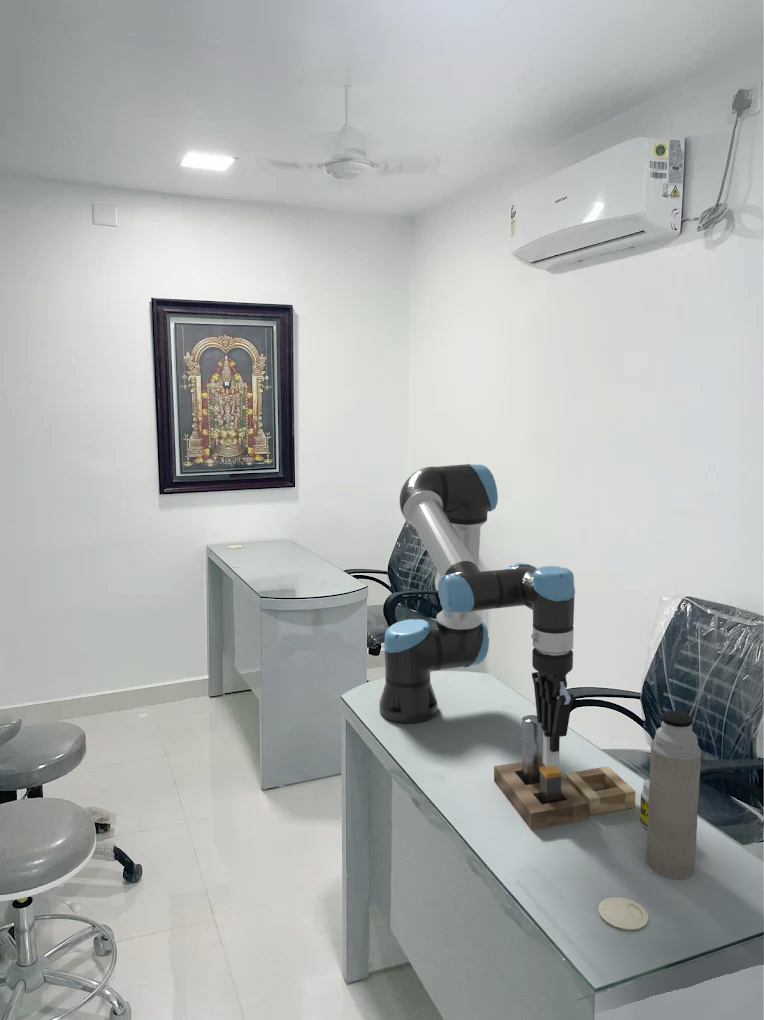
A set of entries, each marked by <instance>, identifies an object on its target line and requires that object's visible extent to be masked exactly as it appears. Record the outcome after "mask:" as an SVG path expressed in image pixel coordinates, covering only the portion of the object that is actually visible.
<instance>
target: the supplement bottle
mask: <svg viewBox="0 0 764 1020" xmlns="http://www.w3.org/2000/svg"><path fill="white" fill-rule="evenodd" d="M649 779H650V778H649ZM649 779H646V780H644V782H643V785H642V791H641V793H640V808H639V823H640V825H641V826H642V828H645V830H647V828H648V803H649Z"/></svg>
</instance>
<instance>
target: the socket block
mask: <svg viewBox="0 0 764 1020" xmlns="http://www.w3.org/2000/svg"><path fill="white" fill-rule="evenodd" d="M543 766H545V765H544V763H543ZM493 782H494V783H495V784H496V785H497V787H498V788H499V789H500V791H501V792H502V794H503V795H504V796H505V798H506V799H507V801H508V802H509V803H510V805H512V807H513V808H514V810H516V812H517V814H518V815H519V816H520V817H521V818H522V821H524V822H525V824H526V826H527V827H528V829H529V830H530V831H532V830H537V829H543V828H548V827H549V828H550V827H554V826H559V825H564V824H570V823H571V824H572V823H575V822H580V821H587V820H588V818H589V814H588V802H587V801H586V800H585V799H584V798H583V797H582V796H581V795H580V794H579V793H578V792H577V791H576V790H575V788H574V787H573V786H572V785H571V784H570V783H569V782H568V781H567V780H566V779H565V776H564V775H562V776H561V801H560V802H554V803H548V804H544V803H543V802H542V801H541V799H540V783H536V784H530V785H525V784H524V783H523V781H522V761H516V762H511V763H505V764H504V763H503V764H499V765H494V766H493Z"/></svg>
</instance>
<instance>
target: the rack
mask: <svg viewBox="0 0 764 1020" xmlns="http://www.w3.org/2000/svg"><path fill="white" fill-rule="evenodd" d="M564 774H565V775H564V778H565V779H566V780H567V781H568V782H569V783H570V784H571V785H572V786H573V787H574V788H575V790H576V791H577V792H578V793H579V794H580V795H581V796H582V797H583V798H584V799H585V800H586V801H587V802H588V816H595V815H600V814H605V813H606V814H607V813H610V812H611V813H612V812H617V811H622V810H627V809H632V808H636V790H635V789H634V788H633V787H631V785H630V784H628V782H626V781H625V780H624V779H623V778H622V777H621V776H620V775H619V774H618V773H616V772H615V771H614V770H613V769H612V768H611V767H610V766H608V765H606V766H601V767H597V768H595V767H594V768H589V769H582V770H578V771H572V772H566V773H564Z"/></svg>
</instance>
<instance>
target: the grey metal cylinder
mask: <svg viewBox="0 0 764 1020" xmlns="http://www.w3.org/2000/svg"><path fill="white" fill-rule="evenodd" d="M543 732H544V731H543V730H542V727H541V723H538V721H537V714H528V715H525V716H523V717H522V718H521V762H522V781H523V783H524V784H525V785H530V784H536V783H540V771H539V767H542V766H543Z"/></svg>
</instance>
